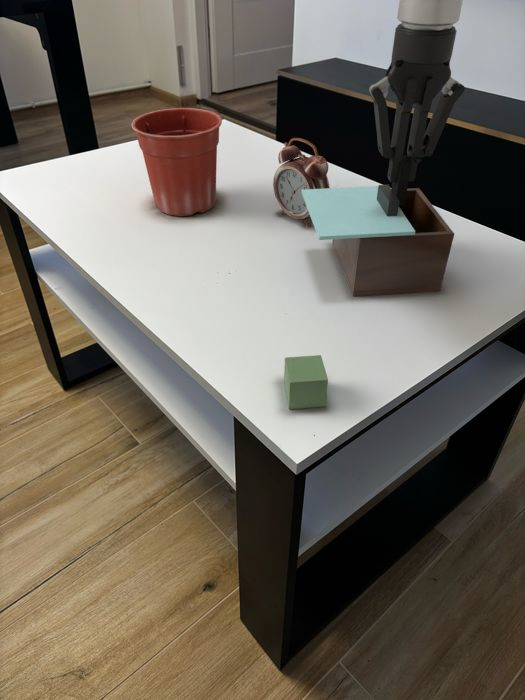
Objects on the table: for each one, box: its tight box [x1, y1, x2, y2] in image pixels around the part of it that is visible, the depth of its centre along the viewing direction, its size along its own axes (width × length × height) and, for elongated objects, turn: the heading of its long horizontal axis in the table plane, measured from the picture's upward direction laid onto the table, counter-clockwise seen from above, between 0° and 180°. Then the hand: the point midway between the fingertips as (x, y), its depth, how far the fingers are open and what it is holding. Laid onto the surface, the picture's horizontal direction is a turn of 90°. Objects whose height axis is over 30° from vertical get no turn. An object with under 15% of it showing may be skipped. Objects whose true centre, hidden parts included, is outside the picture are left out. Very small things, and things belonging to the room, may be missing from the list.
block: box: [283, 354, 329, 410], centre depth 66 cm, size 4×4×4 cm
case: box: [331, 187, 455, 297], centre depth 87 cm, size 16×14×10 cm
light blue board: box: [301, 184, 415, 241], centre depth 82 cm, size 16×14×3 cm
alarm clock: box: [272, 137, 331, 227], centre depth 99 cm, size 11×5×15 cm, turn 45°
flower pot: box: [131, 107, 223, 217], centre depth 104 cm, size 16×16×16 cm
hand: (397, 201), depth 83 cm, fingers closed
